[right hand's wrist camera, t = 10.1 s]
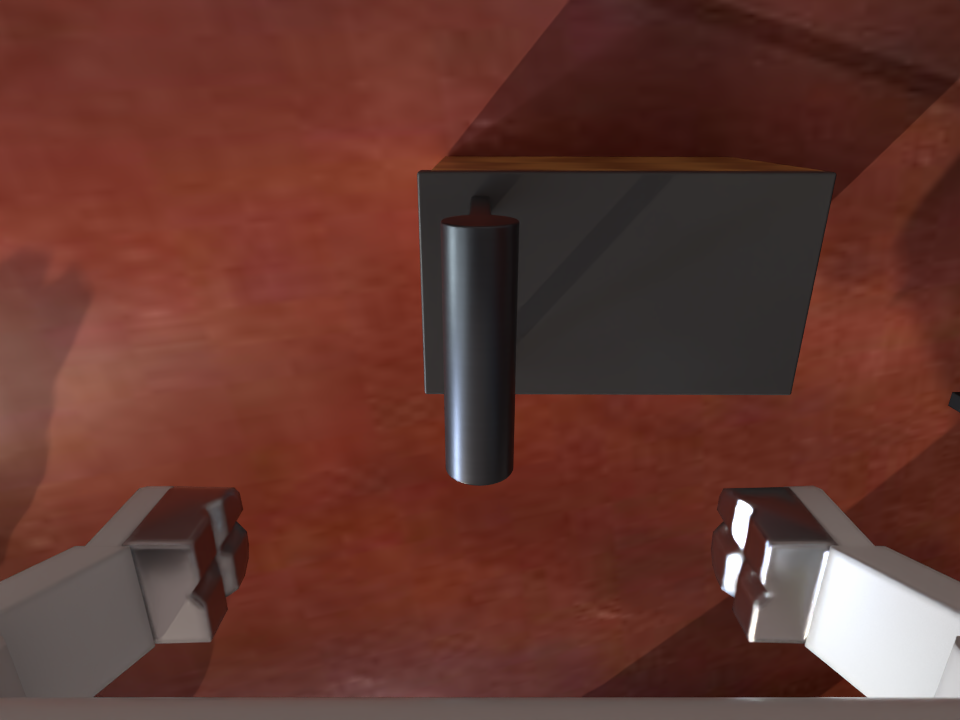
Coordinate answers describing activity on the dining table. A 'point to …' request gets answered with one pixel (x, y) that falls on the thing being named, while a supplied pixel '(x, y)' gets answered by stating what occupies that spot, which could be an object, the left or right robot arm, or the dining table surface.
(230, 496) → the right robot arm
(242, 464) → the dining table surface
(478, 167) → the chest
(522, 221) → the lid
